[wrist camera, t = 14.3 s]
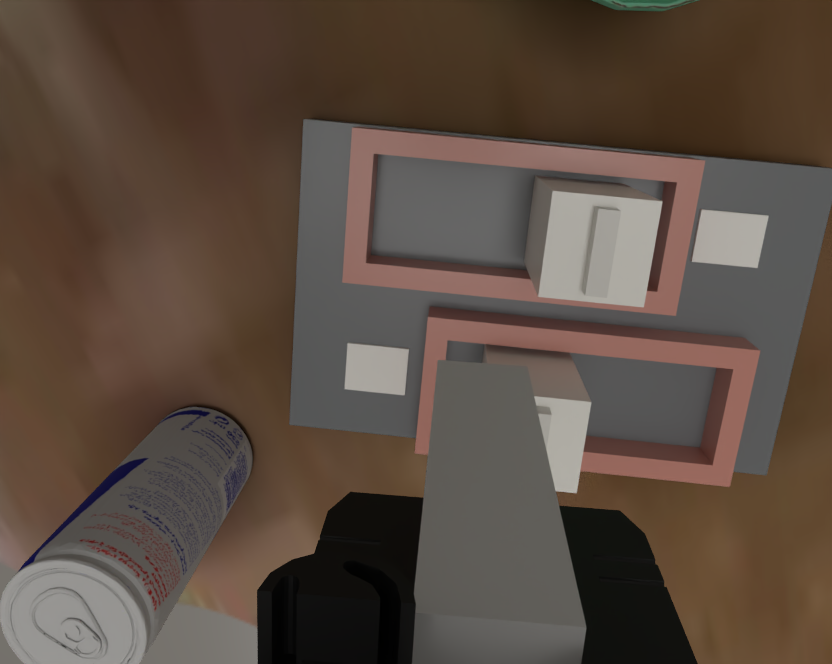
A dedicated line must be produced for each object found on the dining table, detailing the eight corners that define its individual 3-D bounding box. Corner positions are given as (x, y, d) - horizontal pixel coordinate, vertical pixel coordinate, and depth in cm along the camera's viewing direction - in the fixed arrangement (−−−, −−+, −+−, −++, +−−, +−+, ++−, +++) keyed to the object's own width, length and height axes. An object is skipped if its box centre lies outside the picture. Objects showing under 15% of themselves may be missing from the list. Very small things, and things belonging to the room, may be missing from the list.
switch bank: (311, 118, 37) (294, 119, 33) (819, 166, 36) (862, 172, 32) (297, 409, 41) (280, 440, 37) (751, 457, 40) (782, 494, 36)
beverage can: (164, 390, 41) (4, 541, 27) (265, 420, 41) (160, 586, 27) (145, 481, 43) (-16, 669, 28) (242, 509, 43) (131, 711, 28)
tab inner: (535, 175, 35) (555, 193, 27) (624, 183, 35) (668, 203, 27) (523, 262, 36) (540, 301, 28) (609, 270, 36) (648, 312, 28)
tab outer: (485, 340, 37) (490, 399, 30) (567, 349, 37) (594, 409, 30) (475, 417, 38) (479, 492, 31) (556, 425, 38) (579, 502, 31)
